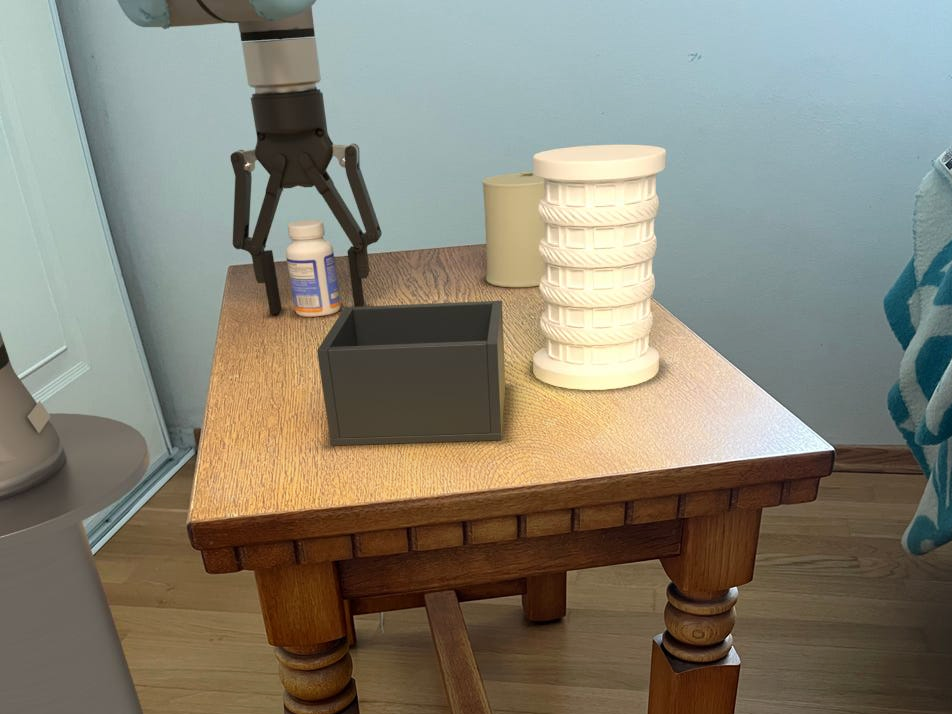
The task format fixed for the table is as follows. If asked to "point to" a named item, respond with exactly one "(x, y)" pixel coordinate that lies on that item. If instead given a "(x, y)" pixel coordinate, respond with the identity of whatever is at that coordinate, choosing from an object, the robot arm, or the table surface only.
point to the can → (514, 229)
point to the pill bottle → (312, 270)
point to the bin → (414, 373)
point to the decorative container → (598, 265)
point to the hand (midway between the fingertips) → (317, 309)
